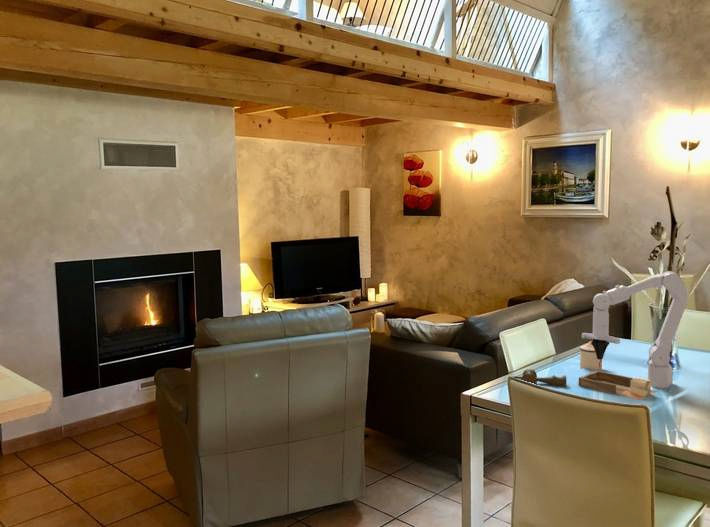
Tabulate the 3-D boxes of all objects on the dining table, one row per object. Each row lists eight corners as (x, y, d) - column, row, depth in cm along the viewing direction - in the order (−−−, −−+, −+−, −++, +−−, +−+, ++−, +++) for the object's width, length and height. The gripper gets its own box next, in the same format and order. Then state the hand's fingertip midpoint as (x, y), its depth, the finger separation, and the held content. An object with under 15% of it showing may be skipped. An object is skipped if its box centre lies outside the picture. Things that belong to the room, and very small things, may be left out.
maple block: (636, 390, 216) (636, 377, 216) (650, 393, 212) (650, 380, 212) (630, 393, 213) (630, 380, 213) (644, 396, 209) (644, 383, 209)
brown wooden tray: (597, 380, 233) (597, 370, 232) (657, 393, 215) (657, 383, 215) (578, 387, 224) (578, 377, 223) (639, 402, 206) (639, 391, 206)
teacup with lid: (604, 372, 244) (605, 344, 243) (581, 371, 246) (581, 343, 245) (599, 364, 255) (599, 338, 254) (577, 363, 258) (577, 337, 256)
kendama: (566, 393, 219) (511, 387, 226) (565, 386, 229) (512, 381, 235) (567, 377, 219) (511, 372, 225) (566, 371, 228) (513, 366, 234)
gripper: (577, 323, 231) (577, 357, 232) (614, 328, 219) (613, 364, 221) (587, 321, 235) (586, 354, 236) (623, 326, 224) (622, 361, 225)
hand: (600, 359), depth 229 cm, fingers closed
